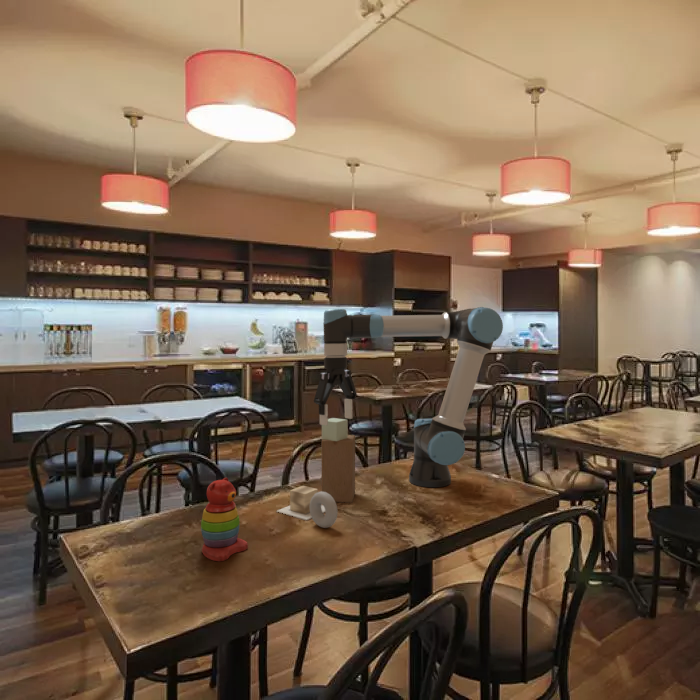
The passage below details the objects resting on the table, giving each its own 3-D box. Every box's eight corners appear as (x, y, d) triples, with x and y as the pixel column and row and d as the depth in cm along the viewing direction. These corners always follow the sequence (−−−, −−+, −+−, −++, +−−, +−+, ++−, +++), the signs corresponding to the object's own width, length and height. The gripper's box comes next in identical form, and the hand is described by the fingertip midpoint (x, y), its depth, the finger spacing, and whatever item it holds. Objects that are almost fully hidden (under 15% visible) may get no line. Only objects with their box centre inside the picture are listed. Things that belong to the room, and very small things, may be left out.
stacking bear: (220, 563, 124) (219, 489, 123) (190, 553, 129) (190, 482, 128) (251, 547, 133) (251, 478, 132) (223, 538, 138) (222, 472, 137)
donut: (340, 530, 144) (340, 494, 144) (331, 533, 142) (331, 497, 141) (315, 520, 151) (315, 486, 151) (306, 524, 149) (306, 489, 148)
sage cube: (347, 438, 170) (347, 419, 170) (336, 441, 165) (336, 422, 165) (332, 435, 174) (332, 417, 174) (321, 438, 169) (321, 420, 169)
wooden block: (352, 503, 166) (352, 441, 166) (321, 502, 167) (321, 440, 167) (355, 493, 176) (355, 434, 176) (325, 492, 177) (325, 434, 177)
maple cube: (317, 508, 160) (317, 489, 160) (305, 514, 155) (304, 494, 155) (303, 504, 164) (303, 485, 164) (290, 509, 159) (290, 490, 159)
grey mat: (332, 509, 161) (332, 507, 161) (306, 520, 151) (306, 519, 151) (302, 501, 168) (302, 500, 168) (276, 512, 158) (276, 510, 158)
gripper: (348, 354, 182) (349, 414, 183) (301, 358, 162) (303, 426, 163) (366, 354, 178) (367, 416, 179) (320, 359, 158) (321, 428, 158)
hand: (336, 421), depth 171 cm, fingers open, 13 cm apart
